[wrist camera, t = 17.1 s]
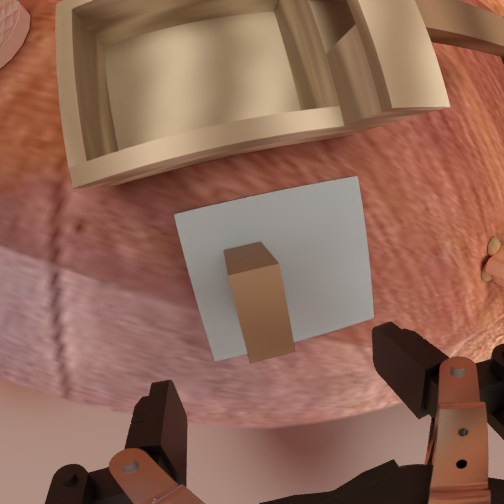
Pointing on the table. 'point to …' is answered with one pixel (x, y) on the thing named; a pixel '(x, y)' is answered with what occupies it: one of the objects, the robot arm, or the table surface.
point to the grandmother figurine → (494, 263)
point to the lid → (278, 267)
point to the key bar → (463, 25)
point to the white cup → (12, 28)
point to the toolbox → (231, 78)
